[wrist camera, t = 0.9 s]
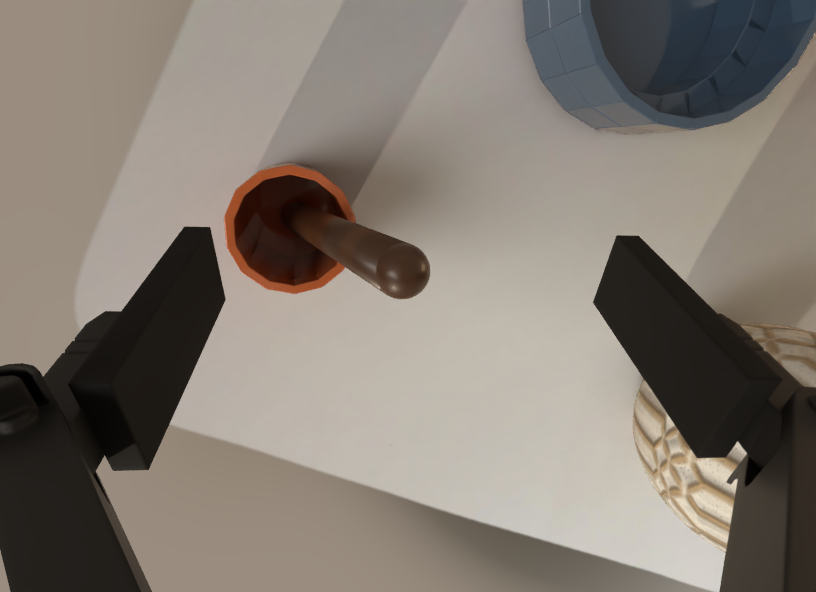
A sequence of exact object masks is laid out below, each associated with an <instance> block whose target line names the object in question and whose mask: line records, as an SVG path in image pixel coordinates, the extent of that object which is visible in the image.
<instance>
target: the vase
mask: <svg viewBox="0 0 816 592" xmlns="http://www.w3.org/2000/svg"><path fill="white" fill-rule="evenodd" d="M739 325H740V326H741V327H742V328H743V329H744V330H745V331H746V332H747V333H748V334H749V335H751V336H752V337H753V340H756V341H757V342H758V343H759V344H760V345H761V346H762V347H763V348H764V351H767V352H768V353H769V354H770V355H771V356H772V357H773V358H774V359H775V360H777V361H778V362H779V363H780V364H781V365H782V366H783V367H784V368H785V369H786V370H787V371H788V372H789V373H790V374H791V375H792V376H793V377H794V378H795V379H796V380H797V381H798V382H799V383H800V384H801V385H803V386H804V387H816V333H815V332H811V331H806V330H802V329H798V328H793V327H787V326H781V325H774V324H739ZM633 434H634V440H635V444H636V448H637V452H638V455H639V458H640V460H641V463H642V465H643V468H644V470H645V472H646V474H647V476H648V478H649V479H650V481H651V483H652V485H653V487H654V488H655V489H656V491H657V492H658V493H659V495H660V496H661V497H662V499H663V500H664V501H665V503H666V504H667V505H668V506H669V507H670V509H671V510H672V511H673V512H674V513H675V514H676V515H677V516H678V517H679V518H680V519H681V520H682V521H683V522H684V523H685V524H686V525H687V526H688V527H689V528H690V529H691V530H693V531H694V532H695V533H697V534H698V535H699V536H700V537H702V538H703V539H705V540H706V541H708V542H709V543H711V544H713V545H714V546H716V547H717V548H719V549H720V550H722V551H724V552H725V553H726V549H727V542H728V536H729V530H730V524H731V518H732V511H733V505H734V499H735V493H736V487H737V480H738V479H735V480H734V482H733V483H732V484H731V485H730V484H728V483H726V481H727V480H728V478H729V477H730V475H731V474H732V473H733V471H734V470H735V469H736V467H737V466H738V465H739V463H740V462H741V461H742V460H743V458H744V457H745V456H746V454H747V453H746V451H745V450H744V449H743V448H742V446H741V445H740V444H739V442H737V443H736V444H735V446H734V447H733V449H732V450H731V451H730V453H729V454H728V455H727V457H726V458H696V456H695V455H694V453H693V452H692V450H691V449H690V447H689V446H688V444H687V443H686V441H685V440H684V438H683V437H682V435H681V434H680V432H679V431H678V429H677V428H676V426H675V425H674V423H673V422H672V420H671V419H670V417H669V416H668V414H667V413H666V411H665V410H664V408H663V407H662V405H661V404H660V402H659V401H658V399H657V398H656V396H655V395H654V393H653V392H652V390H651V389H650V387H649V386H648V384H647V383H646V381H645V380H643V382H642V384H641V387H640V389H639V392H638V394H637V397H636V401H635V406H634V414H633Z"/></svg>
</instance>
